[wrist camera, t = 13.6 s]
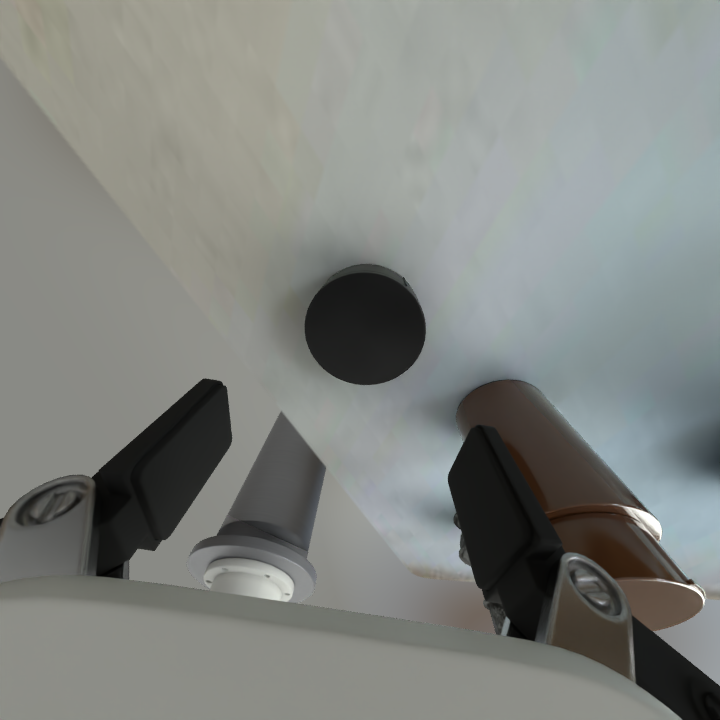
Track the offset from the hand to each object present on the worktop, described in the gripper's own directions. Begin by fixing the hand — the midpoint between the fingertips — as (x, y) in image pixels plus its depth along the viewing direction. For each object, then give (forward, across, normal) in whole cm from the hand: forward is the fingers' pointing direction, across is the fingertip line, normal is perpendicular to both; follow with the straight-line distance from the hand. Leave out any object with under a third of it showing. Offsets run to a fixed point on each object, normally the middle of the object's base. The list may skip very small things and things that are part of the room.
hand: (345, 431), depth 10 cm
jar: (+10, -13, +5) cm, 17 cm away
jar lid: (+8, 0, -1) cm, 8 cm away
